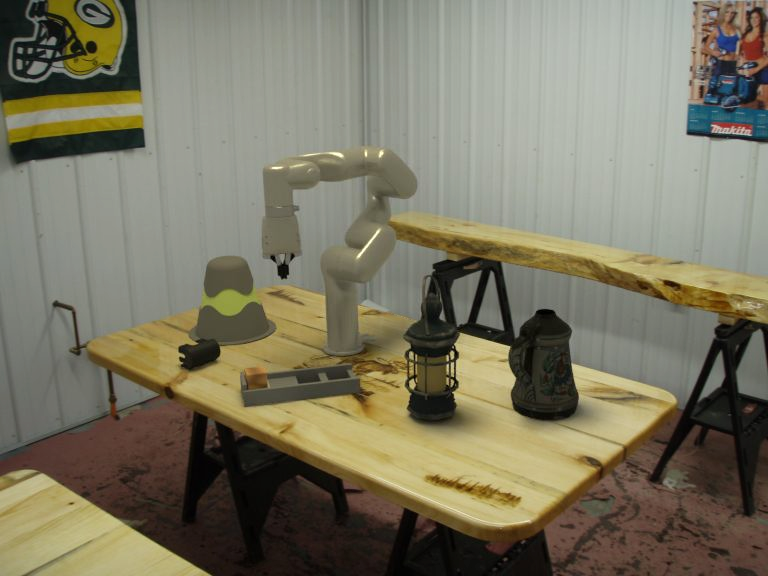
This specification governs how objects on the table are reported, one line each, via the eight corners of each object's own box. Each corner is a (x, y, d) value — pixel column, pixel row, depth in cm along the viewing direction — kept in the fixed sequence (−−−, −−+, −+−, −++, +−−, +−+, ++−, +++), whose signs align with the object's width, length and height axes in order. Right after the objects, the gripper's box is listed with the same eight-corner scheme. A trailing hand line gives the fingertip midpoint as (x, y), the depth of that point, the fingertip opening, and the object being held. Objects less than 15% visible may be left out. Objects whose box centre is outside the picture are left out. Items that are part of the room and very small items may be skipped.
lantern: (452, 430, 183) (452, 286, 173) (397, 423, 187) (395, 283, 177) (464, 404, 196) (465, 270, 186) (413, 399, 200) (411, 267, 190)
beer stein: (583, 398, 198) (589, 304, 191) (568, 431, 181) (573, 329, 174) (519, 388, 205) (522, 297, 198) (499, 419, 188) (501, 321, 181)
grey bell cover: (170, 335, 250) (162, 262, 243) (233, 311, 272) (228, 244, 265) (232, 352, 235) (225, 275, 228) (293, 325, 256) (289, 254, 250)
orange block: (264, 383, 205) (263, 365, 204) (268, 390, 201) (266, 372, 199) (245, 386, 204) (244, 368, 202) (248, 393, 199) (247, 375, 198)
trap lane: (351, 376, 215) (351, 357, 213) (360, 392, 204) (359, 373, 203) (241, 389, 208) (239, 370, 206) (244, 406, 198) (242, 386, 196)
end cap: (193, 373, 220) (191, 350, 218) (178, 367, 224) (176, 345, 222) (222, 362, 227) (220, 340, 225) (206, 356, 231) (205, 335, 229)
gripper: (305, 206, 212) (308, 272, 217) (249, 210, 209) (254, 276, 214) (309, 212, 205) (313, 279, 210) (252, 216, 202) (257, 284, 207)
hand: (283, 277), depth 212 cm, fingers closed
